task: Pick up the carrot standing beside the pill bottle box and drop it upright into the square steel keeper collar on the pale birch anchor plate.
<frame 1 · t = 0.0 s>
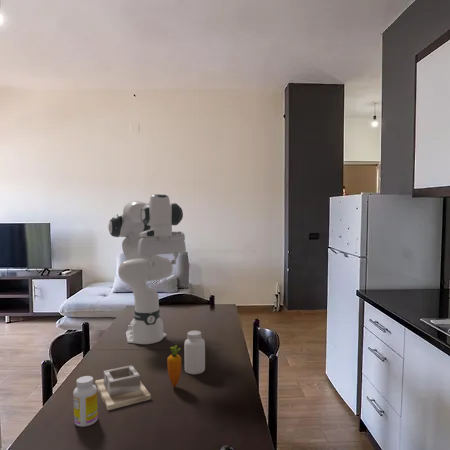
hand: (163, 265, 164), 39 cm above the table, tool pointing down, fingers open, 8 cm apart
carrot: (174, 387, 137), on the table
anchor plate: (121, 391, 134), on the table
supplement bottle: (86, 422, 116), on the table
pill bottle: (194, 371, 151), on the table
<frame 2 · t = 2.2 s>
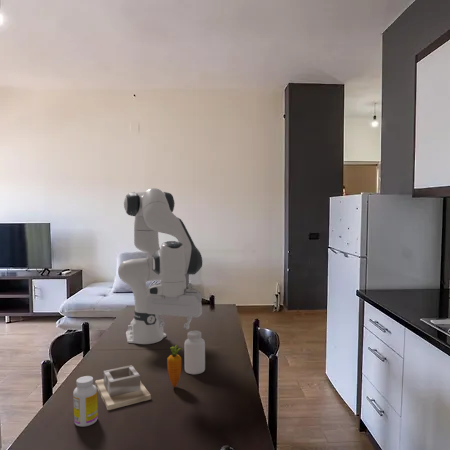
hand: (173, 327, 136), 21 cm above the table, tool pointing down, fingers open, 8 cm apart
nothing on the table moved.
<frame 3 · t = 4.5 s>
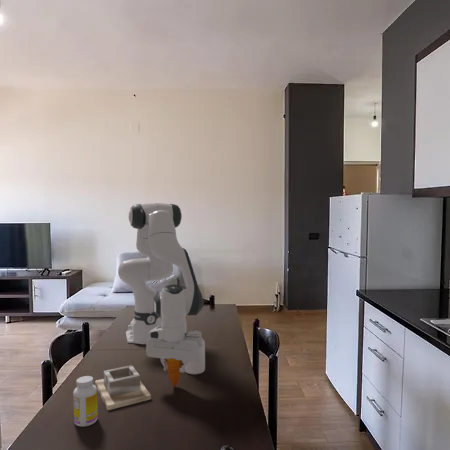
hand: (174, 370, 137), 6 cm above the table, tool pointing down, fingers closed on carrot, 4 cm apart
carrot: (174, 387, 137), on the table, touching gripper
everything else where it was.
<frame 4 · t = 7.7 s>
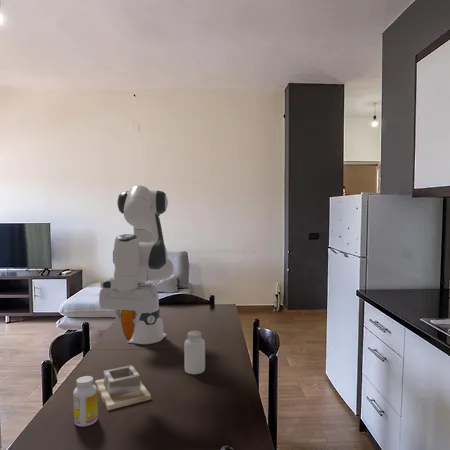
hand: (128, 322, 133), 24 cm above the table, tool pointing down, fingers closed on carrot, 4 cm apart
carrot: (128, 341, 134), point 17 cm above the table, touching gripper
everything else where it was.
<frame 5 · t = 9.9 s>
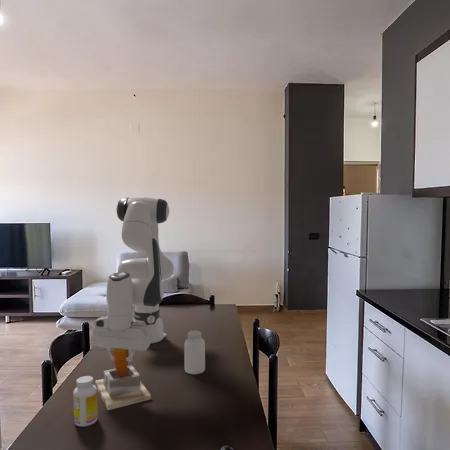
hand: (121, 360, 134), 11 cm above the table, tool pointing down, fingers closed on carrot, 4 cm apart
carrot: (121, 379, 134), point 4 cm above the table, touching gripper
everything else where it was.
when the fingers open (9 cm above the table, at t = 11.1 s): carrot stays where it is, resting on anchor plate.
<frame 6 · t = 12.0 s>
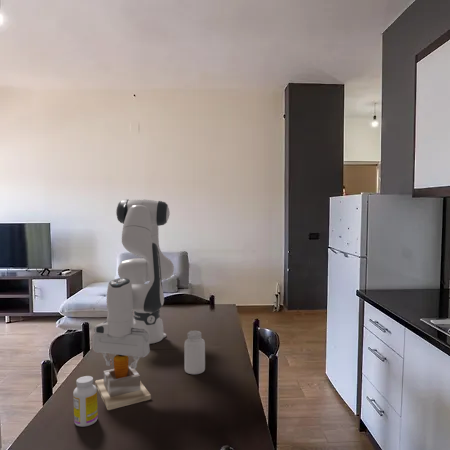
hand: (121, 366, 134), 9 cm above the table, tool pointing down, fingers open, 8 cm apart
carrot: (121, 387, 134), point 1 cm above the table, touching anchor plate
everything else where it was.
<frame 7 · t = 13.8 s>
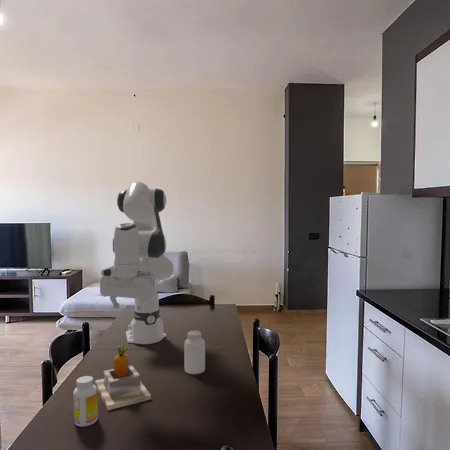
hand: (128, 309, 136), 28 cm above the table, tool pointing down, fingers open, 8 cm apart
nothing on the table moved.
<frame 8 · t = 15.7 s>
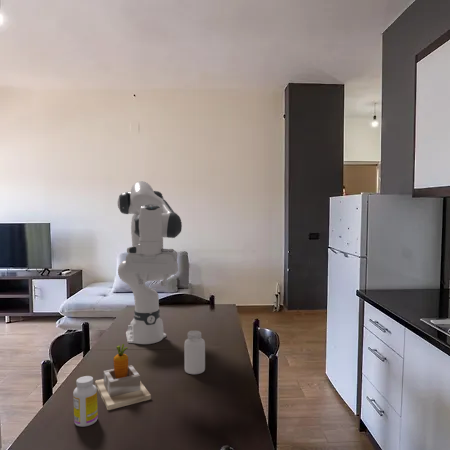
hand: (151, 285, 146), 34 cm above the table, tool pointing down, fingers open, 8 cm apart
nothing on the table moved.
at the end: carrot 0.3 cm off-centre on the anchor plate, point 1.3 cm above the anchor plate's base; carrot tilted 2°; the gripper is holding nothing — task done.
